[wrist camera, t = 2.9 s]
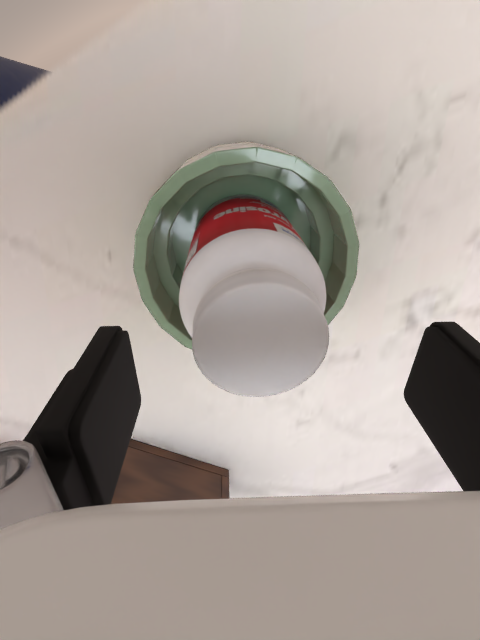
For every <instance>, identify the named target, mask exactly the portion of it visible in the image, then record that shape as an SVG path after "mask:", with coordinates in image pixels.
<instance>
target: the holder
mask: <svg viewBox="0 0 480 640" xmlns="http://www.w3.org/2000/svg"><path fill="white" fill-rule="evenodd" d="M203 499H229V470H226V469H223V468H220V467H217V466H214V465H211V464H207V463H204V462H201V461H198V460H195V459H192V458H188V457H185V456H182V455H179V454H176V453H173V452H169V451H166V450H163V449H160V448H157V447H154V446H150V445H147V444H144V443H141V442H138V441H135V440H131V439H130V442H129V445H128V449H127V452H126V455H125V459H124V462H123V465H122V468H121V472H120V475H119V478H118V482H117V485H116V488H115V491H114V495H113V498H112V501H111V504H122V503H141V502H159V501H178V500H203Z"/></svg>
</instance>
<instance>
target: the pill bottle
mask: <svg viewBox="0 0 480 640" xmlns="http://www.w3.org/2000/svg"><path fill="white" fill-rule="evenodd" d="M325 305H326V286H325V281H324V278H323V274H322V272H321V270H320V268H319V266H318V264H317V262H316V260H315V258H314V257H313V255H312V254H311V252H310V251H309V250H308V248H307V247H306V245H305V244H304V242H303V241H302V239H301V237H300V236H299V234H298V233H297V232H296V230H295V229H294V227H293V226H292V224H291V223H290V222H289V220H288V219H287V217H286V216H285V215H284V213H283V212H282V211H281V210H280V209H279V208H278V207H277V206H276V205H274V204H273V203H271V202H269V201H267V200H265V199H263V198H260V197H257V196H253V195H234V196H230V197H227V198H224V199H222V200H220V201H218V202H216V203H215V204H213V205H212V206H211V207H210V208H209V209H208V210H207V211H206V212H205V213H204V214H203V216H202V217H201V218H200V220H199V222H198V224H197V226H196V229H195V232H194V234H193V238H192V242H191V246H190V249H189V253H188V257H187V260H186V265H185V269H184V272H183V276H182V280H181V285H180V292H179V309H180V314H181V317H182V321H183V323H184V326H185V328H186V329H187V331H188V333H189V334H190V336H191V337H192V350H193V355H194V358H195V361H196V363H197V365H198V367H199V369H200V370H201V372H202V373H203V374H204V376H205V377H206V378H207V379H208V380H209V381H211V382H212V383H213V384H215V385H216V386H218V387H219V388H221V389H223V390H225V391H227V392H230V393H233V394H236V395H242V396H250V397H263V396H270V395H276V394H279V393H283V392H286V391H288V390H290V389H293V388H295V387H296V386H298V385H300V384H302V383H303V382H304V381H306V380H307V379H308V378H309V377H310V376H311V375H313V374H314V373H315V371H316V370H317V369H318V368H319V366H320V365H321V363H322V361H323V359H324V358H325V355H326V352H327V349H328V344H329V330H328V325H327V321H326V318H325V316H324V310H325Z"/></svg>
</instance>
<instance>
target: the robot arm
mask: <svg viewBox="0 0 480 640" xmlns="http://www.w3.org/2000/svg"><path fill="white" fill-rule="evenodd" d="M404 398H405V401H406V403H407V404H408V406H409V407H410V409H411V410H412V412H413V414H414V415H415V417H416V418H417V420H418V421H419V423H420V424H421V426H422V427H423V429H424V431H425V432H426V434H427V435H428V437H429V438H430V440H431V441H432V443H433V444H434V446H435V448H436V449H437V451H438V452H439V454H440V455H441V457H442V458H443V460H444V462H445V463H446V465H447V466H448V468H449V469H450V471H451V472H452V474H453V475H454V477H455V479H456V480H457V482H458V483H459V485H460V486H461V488H462V489H463V491H457V492H418V493H382V494H349V495H317V496H286V497H258V498H231V499H203V500H178V501H159V502H141V503H122V504H111V501H112V498H113V495H114V491H115V488H116V485H117V482H118V478H119V475H120V472H121V468H122V465H123V462H124V459H125V455H126V452H127V449H128V445H129V442H130V439H131V436H132V432H133V429H134V426H135V422H136V419H137V416H138V413H139V409H140V405H141V394H140V389H139V384H138V379H137V374H136V369H135V364H134V359H133V354H132V349H131V344H130V339H129V334H128V332H127V331H122V328H121V327H120V326H102V327H100V328H99V329H98V330H97V332H96V334H95V335H94V337H93V338H92V340H91V342H90V343H89V345H88V346H87V348H86V350H85V351H84V353H83V354H82V356H81V358H80V359H79V361H78V362H77V364H76V366H75V367H74V369H72V370H69V371H68V372H67V374H66V375H65V376H64V378H63V380H62V381H61V383H60V384H59V386H58V387H57V389H56V391H55V392H54V394H53V395H52V397H51V398H50V400H49V401H48V403H47V405H46V406H45V408H44V409H43V411H42V412H41V414H40V415H39V417H38V419H37V420H36V422H35V423H34V425H33V426H32V428H31V430H30V431H29V433H28V434H27V436H26V437H25V439H24V440H23V441H10V442H5V443H2V444H0V640H480V343H479V342H478V341H477V340H475V339H474V338H473V337H472V336H471V335H470V334H469V333H467V332H466V331H465V330H464V329H463V328H462V327H460V326H459V325H458V324H457V323H455V322H434V323H432V324H431V325H430V327H427V328H426V329H425V331H424V334H423V337H422V340H421V343H420V346H419V349H418V352H417V354H416V357H415V360H414V363H413V366H412V369H411V372H410V375H409V378H408V381H407V383H406V386H405V389H404Z"/></svg>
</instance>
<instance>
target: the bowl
mask: <svg viewBox="0 0 480 640" xmlns="http://www.w3.org/2000/svg"><path fill="white" fill-rule="evenodd" d="M234 195H253V196H257V197H260V198H263V199H265V200H267V201H269V202H271V203H273V204H274V205H276V206H277V207H278V208H279V209H280V210H281V211H282V212H283V213H284V215H285V216H286V217H287V219H288V220H289V222H290V223H291V224H292V226H293V227H294V229H295V230H296V232H297V233H298V234H299V236H300V237H301V239H302V241H303V242H304V244H305V245H306V247H307V248H308V250H309V251H310V252H311V254H312V255H313V257H314V258H315V260H316V262H317V264H318V266H319V268H320V270H321V272H322V274H323V278H324V281H325V286H326V305H325V310H324V316H325V318H326V321H327V325H329V323H330V322H331V321H332V320H333V319H334V317H335V316H336V315H337V314H338V312H339V311H340V310H341V309H342V308H343V306H344V304H345V302H346V299H347V297H348V295H349V292H350V290H351V288H352V285H353V283H354V281H355V278H356V273H357V262H358V251H359V240H358V236H357V232H356V228H355V224H354V220H353V216H352V212H351V210H350V207H349V206H348V205H347V203H346V202H345V200H344V199H343V197H342V196H341V194H340V193H339V191H338V190H337V189H336V187H335V186H334V184H333V183H332V181H331V180H330V179H329V178H328V177H327V176H325V175H324V174H322V173H321V172H319V171H318V170H316V169H315V168H313V167H312V166H311V165H309V164H308V163H306V162H305V161H303V160H302V159H300V158H299V157H297V156H295V155H292V154H290V153H288V152H286V151H283V150H281V149H278V148H274V147H270V146H266V145H262V144H258V143H254V142H248V141H247V142H238V143H229V144H221V145H216V146H213V147H211V148H209V149H207V150H205V151H203V152H201V153H199V154H197V155H195V156H193V157H191V158H189V159H188V160H187V161H185V162H184V163H183V164H182V165H181V166H180V167H179V169H178V170H177V171H176V172H175V173H174V174H173V175H172V176H171V177H170V178H169V179H168V180H167V181H166V182H165V183H164V185H163V186H162V187H161V188H160V189H159V190H158V191H157V192H156V193H155V194H154V195H153V197H152V198H151V199H150V201H149V203H148V205H147V208H146V210H145V212H144V215H143V217H142V219H141V222H140V224H139V226H138V228H137V231H136V234H135V247H134V263H133V268H134V269H133V270H134V273H135V277H136V281H137V284H138V288H139V291H140V295H141V298H142V300H143V302H144V304H145V305H146V307H147V308H148V310H149V311H150V313H151V314H152V316H153V317H154V318H155V320H156V321H157V323H158V324H159V326H160V327H161V328H162V329H164V330H165V331H166V332H167V333H168V334H170V335H171V336H172V337H173V338H175V339H176V340H177V341H178V342H180V343H181V344H182V345H184V346H185V347H187V348H190V349H192V337H191V336H190V334H189V333H188V331H187V329H186V328H185V326H184V323H183V321H182V317H181V314H180V309H179V292H180V285H181V280H182V276H183V272H184V269H185V265H186V260H187V257H188V253H189V249H190V246H191V242H192V238H193V234H194V232H195V229H196V226H197V224H198V222H199V220H200V218H201V217H202V216H203V214H204V213H205V212H206V211H207V210H208V209H209V208H210V207H211V206H212V205H213V204H215V203H216V202H218V201H220V200H222V199H224V198H227V197H230V196H234Z"/></svg>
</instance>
